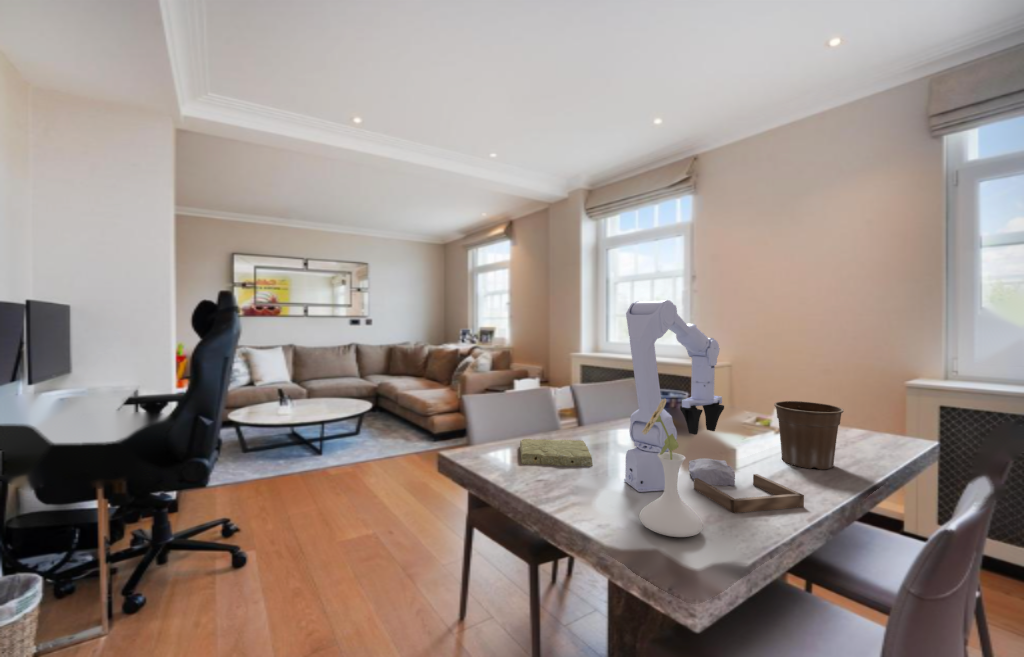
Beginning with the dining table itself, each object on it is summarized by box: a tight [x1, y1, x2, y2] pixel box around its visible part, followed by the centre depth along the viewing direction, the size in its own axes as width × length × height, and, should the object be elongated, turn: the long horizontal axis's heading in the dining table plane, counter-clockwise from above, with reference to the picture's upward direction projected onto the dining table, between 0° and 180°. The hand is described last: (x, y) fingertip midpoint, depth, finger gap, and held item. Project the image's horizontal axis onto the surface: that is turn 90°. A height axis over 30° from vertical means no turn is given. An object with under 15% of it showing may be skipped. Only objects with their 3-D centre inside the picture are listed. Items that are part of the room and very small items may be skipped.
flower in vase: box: [638, 398, 704, 538], centre depth 83 cm, size 13×11×25 cm
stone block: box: [688, 458, 736, 487], centre depth 113 cm, size 12×5×10 cm
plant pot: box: [773, 400, 844, 470], centre depth 125 cm, size 16×16×16 cm
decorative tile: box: [519, 438, 593, 467], centre depth 130 cm, size 19×20×4 cm
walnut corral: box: [693, 473, 805, 514], centre depth 100 cm, size 17×14×2 cm
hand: (702, 432), depth 121 cm, fingers open, 7 cm apart
